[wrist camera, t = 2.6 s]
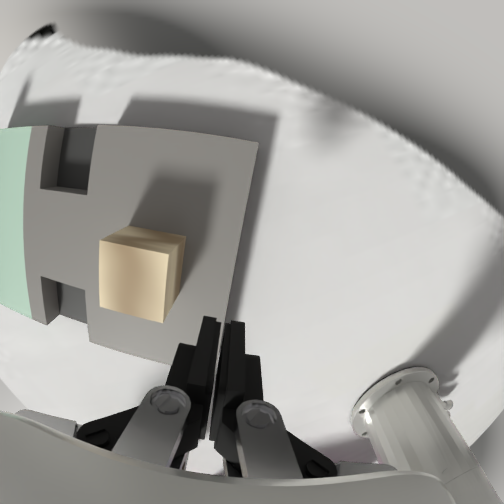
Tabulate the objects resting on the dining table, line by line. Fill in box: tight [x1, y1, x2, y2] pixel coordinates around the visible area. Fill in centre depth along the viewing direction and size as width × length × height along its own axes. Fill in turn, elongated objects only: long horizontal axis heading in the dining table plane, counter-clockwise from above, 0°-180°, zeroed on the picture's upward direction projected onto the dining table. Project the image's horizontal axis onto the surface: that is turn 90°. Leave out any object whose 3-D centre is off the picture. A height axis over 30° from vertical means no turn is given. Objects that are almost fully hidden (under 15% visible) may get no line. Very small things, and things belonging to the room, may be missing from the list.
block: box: [99, 226, 186, 323], centre depth 18 cm, size 4×4×4 cm
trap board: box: [0, 125, 259, 373], centre depth 20 cm, size 28×19×6 cm
